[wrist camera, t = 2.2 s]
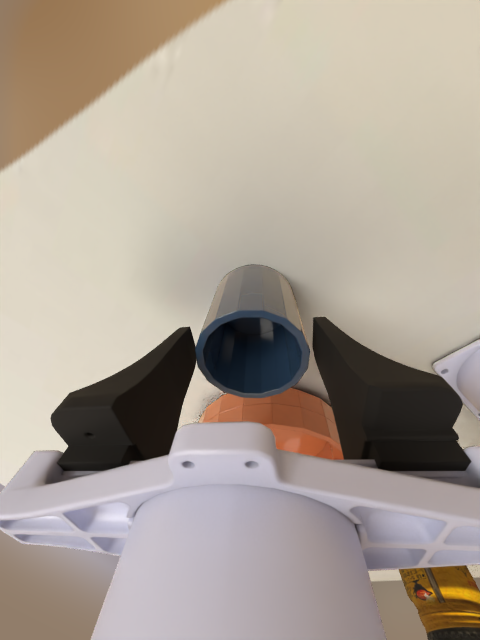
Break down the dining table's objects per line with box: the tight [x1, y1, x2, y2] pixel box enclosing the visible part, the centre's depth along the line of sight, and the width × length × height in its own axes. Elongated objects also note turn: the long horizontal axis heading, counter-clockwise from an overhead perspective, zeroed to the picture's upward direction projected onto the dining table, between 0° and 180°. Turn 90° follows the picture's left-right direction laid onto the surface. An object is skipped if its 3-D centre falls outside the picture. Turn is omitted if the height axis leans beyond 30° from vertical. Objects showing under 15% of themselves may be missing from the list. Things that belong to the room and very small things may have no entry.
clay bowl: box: [198, 388, 344, 460], centre depth 24 cm, size 15×15×4 cm
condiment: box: [399, 565, 480, 640], centre depth 25 cm, size 7×8×12 cm
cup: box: [195, 265, 310, 398], centre depth 15 cm, size 6×6×6 cm
